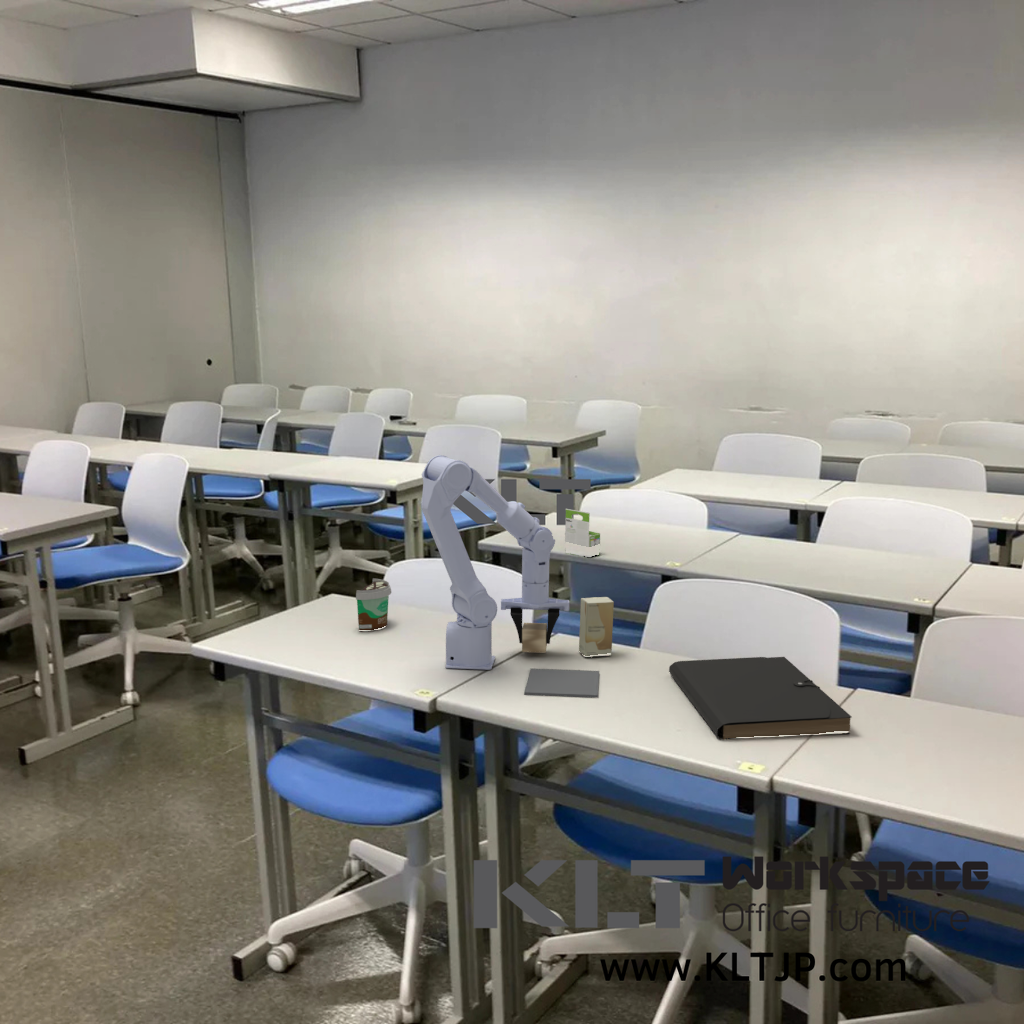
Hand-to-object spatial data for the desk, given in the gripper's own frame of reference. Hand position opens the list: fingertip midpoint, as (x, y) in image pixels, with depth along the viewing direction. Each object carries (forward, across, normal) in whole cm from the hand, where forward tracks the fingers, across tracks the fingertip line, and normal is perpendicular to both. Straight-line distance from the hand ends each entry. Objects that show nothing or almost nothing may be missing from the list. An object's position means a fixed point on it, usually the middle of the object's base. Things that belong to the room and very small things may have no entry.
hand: (534, 642), depth 223 cm
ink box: (+3, +13, +97) cm, 98 cm away
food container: (+3, -37, +18) cm, 41 cm away
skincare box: (+3, +13, 0) cm, 13 cm away
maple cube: (+2, 0, 0) cm, 2 cm away
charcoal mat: (+3, +6, -18) cm, 19 cm away
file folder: (+3, +42, -27) cm, 50 cm away
